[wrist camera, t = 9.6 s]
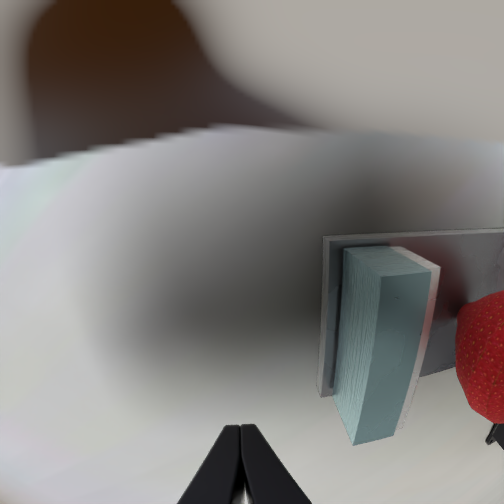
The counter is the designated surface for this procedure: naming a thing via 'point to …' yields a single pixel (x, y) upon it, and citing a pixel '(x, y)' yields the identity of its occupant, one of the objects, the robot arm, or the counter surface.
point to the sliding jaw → (381, 337)
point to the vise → (448, 293)
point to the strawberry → (482, 355)
